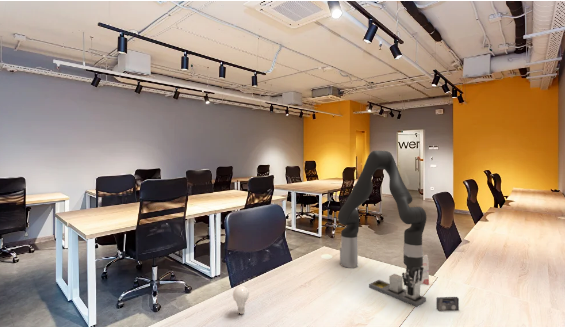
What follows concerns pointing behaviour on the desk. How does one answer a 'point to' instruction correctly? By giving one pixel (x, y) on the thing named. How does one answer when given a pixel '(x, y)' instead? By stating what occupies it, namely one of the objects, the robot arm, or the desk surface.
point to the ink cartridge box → (425, 271)
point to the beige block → (396, 284)
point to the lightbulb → (241, 298)
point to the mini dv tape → (447, 303)
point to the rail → (385, 289)
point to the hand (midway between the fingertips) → (413, 293)
